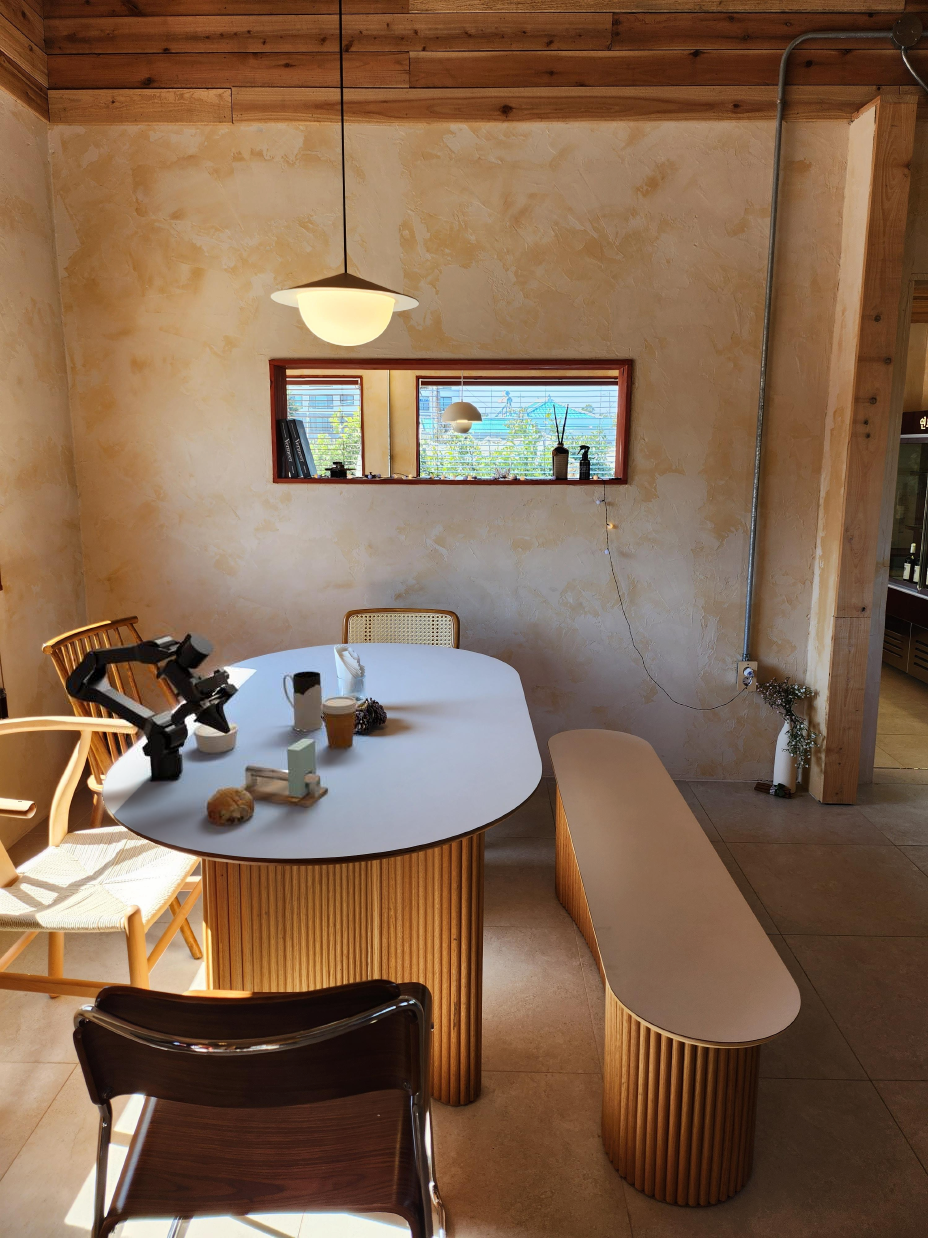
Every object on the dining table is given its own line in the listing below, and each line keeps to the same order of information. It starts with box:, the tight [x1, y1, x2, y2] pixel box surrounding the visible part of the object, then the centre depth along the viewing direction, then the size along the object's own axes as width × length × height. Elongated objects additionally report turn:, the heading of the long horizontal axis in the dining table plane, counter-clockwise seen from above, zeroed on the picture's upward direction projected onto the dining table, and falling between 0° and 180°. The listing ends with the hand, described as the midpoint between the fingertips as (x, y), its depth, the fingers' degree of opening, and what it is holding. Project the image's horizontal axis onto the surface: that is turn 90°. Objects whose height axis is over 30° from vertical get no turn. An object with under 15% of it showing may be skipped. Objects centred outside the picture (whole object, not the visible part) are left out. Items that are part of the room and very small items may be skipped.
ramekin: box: [193, 721, 239, 754], centre depth 218 cm, size 11×11×5 cm
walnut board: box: [239, 777, 329, 808], centre depth 189 cm, size 19×9×1 cm, turn 71°
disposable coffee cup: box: [321, 696, 358, 750], centre depth 219 cm, size 10×10×12 cm
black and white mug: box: [282, 670, 324, 731], centre depth 235 cm, size 9×14×15 cm, turn 53°
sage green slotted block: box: [286, 738, 317, 798], centre depth 186 cm, size 3×7×11 cm, turn 161°
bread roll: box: [206, 786, 255, 826], centre depth 177 cm, size 10×10×8 cm
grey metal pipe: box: [244, 764, 322, 797], centre depth 188 cm, size 18×3×5 cm, turn 71°
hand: (228, 732), depth 191 cm, fingers closed
